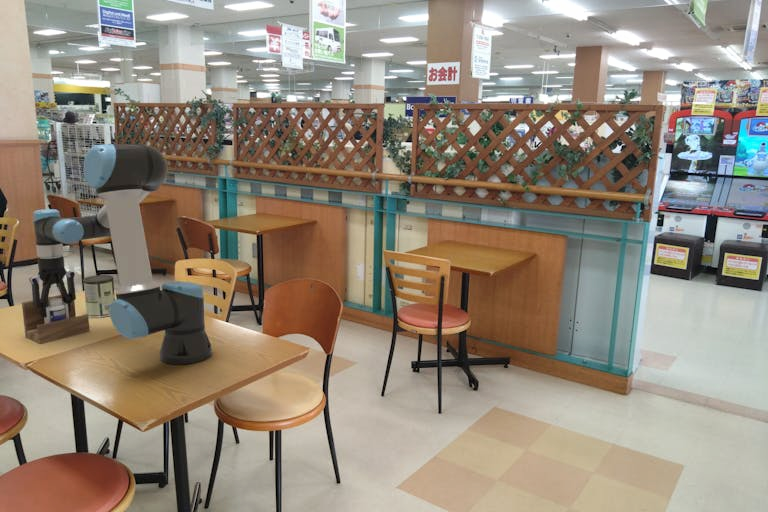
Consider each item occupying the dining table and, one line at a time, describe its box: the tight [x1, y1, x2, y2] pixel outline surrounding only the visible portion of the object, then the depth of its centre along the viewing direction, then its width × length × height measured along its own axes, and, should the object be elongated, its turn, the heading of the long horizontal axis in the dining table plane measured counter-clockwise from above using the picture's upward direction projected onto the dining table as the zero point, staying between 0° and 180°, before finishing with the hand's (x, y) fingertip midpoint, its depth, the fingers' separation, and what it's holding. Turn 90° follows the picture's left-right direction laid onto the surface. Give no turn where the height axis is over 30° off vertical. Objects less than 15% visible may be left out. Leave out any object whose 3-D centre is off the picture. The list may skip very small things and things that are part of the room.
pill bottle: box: [48, 298, 66, 322], centre depth 192 cm, size 5×5×9 cm
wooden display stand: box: [21, 294, 91, 345], centre depth 192 cm, size 11×16×12 cm, turn 144°
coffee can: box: [82, 274, 116, 319], centre depth 215 cm, size 10×10×14 cm
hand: (57, 323), depth 193 cm, fingers closed on pill bottle, 5 cm apart
